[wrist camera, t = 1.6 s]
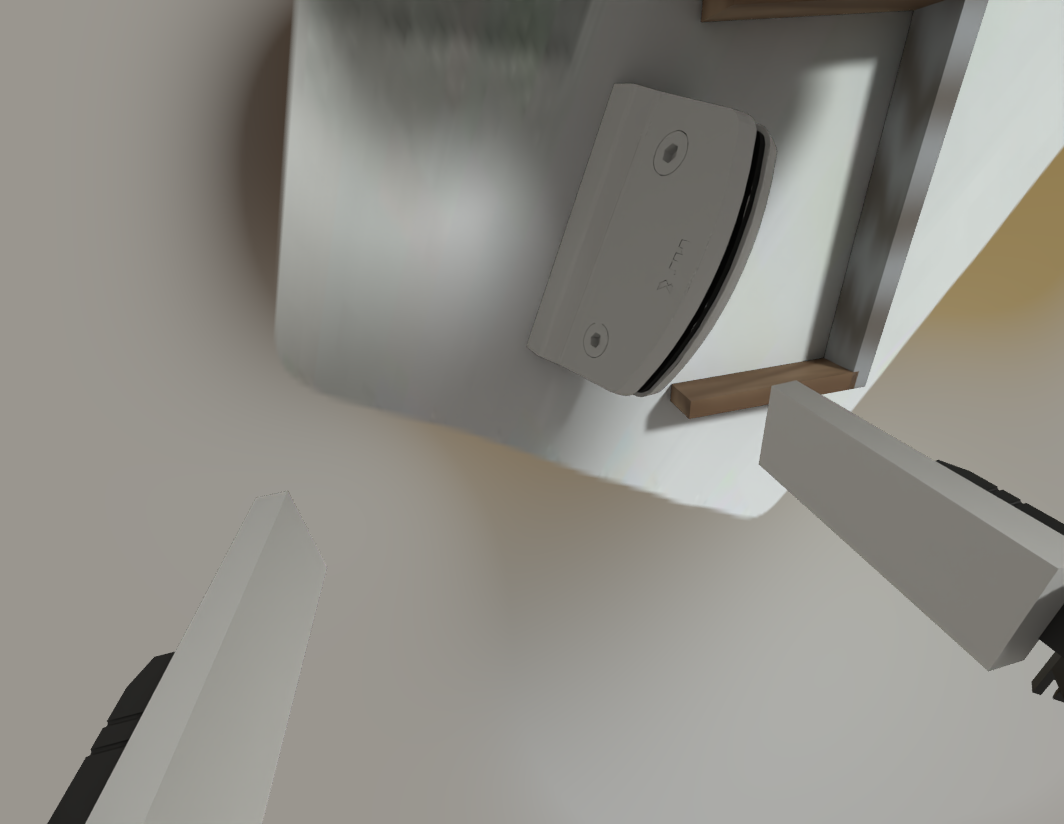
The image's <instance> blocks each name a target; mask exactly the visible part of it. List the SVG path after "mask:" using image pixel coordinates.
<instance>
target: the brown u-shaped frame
mask: <svg viewBox="0 0 1064 824" xmlns="http://www.w3.org/2000/svg"><path fill="white" fill-rule="evenodd" d="M987 3H988V0H703V3H702V15H701V22H711V21H730V20H748V19H766V18H784V17H802V16H820V15H838V14H856V13H874V12H892V11H910V10H914V13H913V17H912V21H911V24H910V28H909V32H908V36H907V40H906V44H905V47H904V51H903V55H902V59H901V63H900V67H899V71H898V74H897V78H896V82H895V86H894V90H893V94H892V97H891V101H890V105H889V109H888V113H887V117H886V121H885V124H884V128H883V132H882V136H881V140H880V144H879V148H878V151H877V155H876V159H875V163H874V167H873V171H872V174H871V178H870V182H869V186H868V190H867V194H866V198H865V201H864V205H863V209H862V213H861V217H860V221H859V225H858V228H857V232H856V236H855V240H854V244H853V248H852V251H851V255H850V259H849V263H848V267H847V271H846V275H845V278H844V282H843V286H842V290H841V294H840V298H839V302H838V305H837V309H836V313H835V317H834V321H833V325H832V328H831V332H830V336H829V340H828V344H827V348H826V352H825V355H824V358H821V359H815V360H809V361H803V362H798V363H792V364H786V365H780V366H774V367H769V368H763V369H757V370H751V371H745V372H740V373H734V374H728V375H722V376H716V377H710V378H705V379H699V380H693V381H687V382H681V383H676V384H672V387H671V399H670V401H671V402H672V403H673V404H674V405H675V406H676V407H677V408H678V409H679V410H680V411H681V412H682V413H684V414H685V415H686V416H687V417H688V418H689V419H691V418H697V417H702V416H708V415H713V414H718V413H724V412H729V411H735V410H740V409H746V408H751V407H756V406H762V405H767V404H769V399H770V393H771V387H772V386H773V385H777V384H782V383H787V382H791V381H796V380H797V381H798V382H800V383H802V384H804V385H805V386H807V387H809V388H810V389H812V390H814V391H816V392H817V393H819V394H827V393H832V392H838V391H843V390H849V389H854V388H859V387H865V385H866V382H867V379H868V375H869V372H870V369H871V366H872V363H873V360H874V357H875V354H876V350H877V347H878V344H879V341H880V338H881V335H882V332H883V329H884V325H885V322H886V319H887V316H888V313H889V310H890V307H891V304H892V300H893V297H894V294H895V291H896V288H897V285H898V282H899V279H900V275H901V272H902V269H903V266H904V263H905V260H906V257H907V253H908V250H909V247H910V244H911V241H912V238H913V235H914V232H915V228H916V225H917V222H918V219H919V216H920V213H921V210H922V207H923V203H924V200H925V197H926V194H927V191H928V188H929V185H930V182H931V178H932V175H933V172H934V169H935V166H936V163H937V160H938V157H939V153H940V150H941V147H942V144H943V141H944V138H945V135H946V132H947V128H948V125H949V122H950V119H951V116H952V113H953V110H954V107H955V103H956V100H957V97H958V94H959V91H960V88H961V85H962V81H963V78H964V75H965V72H966V69H967V66H968V63H969V60H970V56H971V53H972V50H973V47H974V44H975V41H976V38H977V35H978V31H979V28H980V25H981V22H982V19H983V16H984V13H985V10H986V6H987Z"/></svg>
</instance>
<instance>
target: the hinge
mask: <svg viewBox="0 0 1064 824" xmlns="http://www.w3.org/2000/svg"><path fill="white" fill-rule="evenodd" d="M776 155H777V149H776V145H775V143H774V141H773V139H772V137H771V135H770V133H769V131H768V130H767V129H766V128H765V127H764V126H762V125H760V124H756V123H755V121H754V119H753V118H752V117H751V116H750V115H749V114H746V113H743V112H741V111H738V110H735V109H732V108H728V107H724V106H720V105H715V104H711V103H707V102H703V101H699V100H695V99H691V98H686V97H682V96H678V95H674V94H670V93H666V92H662V91H658V90H654V89H651V88H647V87H644V86H640V85H637V84H633V83H621V84H614V86H613V89H612V92H611V95H610V98H609V101H608V104H607V107H606V110H605V113H604V116H603V119H602V122H601V125H600V128H599V131H598V134H597V137H596V140H595V143H594V146H593V149H592V152H591V155H590V158H589V161H588V164H587V167H586V170H585V173H584V176H583V179H582V182H581V184H580V187H579V190H578V193H577V196H576V199H575V202H574V205H573V208H572V211H571V214H570V217H569V220H568V223H567V226H566V229H565V232H564V235H563V238H562V241H561V244H560V247H559V250H558V253H557V256H556V259H555V262H554V265H553V268H552V271H551V274H550V277H549V280H548V283H547V286H546V289H545V292H544V295H543V298H542V301H541V304H540V307H539V310H538V313H537V316H536V319H535V322H534V325H533V328H532V331H531V334H530V337H529V340H528V343H527V347H528V348H529V349H530V350H532V351H533V352H534V353H535V354H536V355H538V356H540V357H542V358H545V359H547V360H549V361H552V362H554V363H556V364H559V365H561V366H563V367H565V368H566V369H568V370H570V371H572V372H574V373H576V374H578V375H580V376H582V377H584V378H585V379H587V380H589V381H591V382H593V383H595V384H597V385H599V386H601V387H603V388H604V389H606V390H608V391H610V392H613V393H616V394H619V395H623V396H630V395H632V394H633V395H635V396H638V397H644V396H648V395H652V394H656V393H658V392H660V391H662V390H663V389H664V388H665V387H666V386H667V385H668V384H669V383H670V382H671V381H672V380H673V379H674V377H675V376H676V375H677V374H678V373H679V372H680V371H681V369H682V368H683V367H684V366H685V365H686V364H687V363H688V361H689V360H690V359H691V357H692V356H693V355H694V354H695V352H696V351H697V350H698V348H699V347H700V346H701V344H702V343H703V341H704V340H705V338H706V337H707V335H708V334H709V332H710V331H711V330H712V328H713V326H714V325H715V323H716V321H717V320H718V318H719V316H720V315H721V313H722V311H723V310H724V308H725V306H726V304H727V302H728V301H729V299H730V297H731V295H732V293H733V291H734V289H735V287H736V285H737V283H738V281H739V278H740V276H741V274H742V272H743V270H744V267H745V265H746V263H747V260H748V258H749V255H750V253H751V250H752V248H753V245H754V242H755V239H756V236H757V234H758V231H759V228H760V225H761V221H762V218H763V215H764V211H765V208H766V204H767V200H768V196H769V192H770V187H771V183H772V179H773V173H774V167H775V161H776Z"/></svg>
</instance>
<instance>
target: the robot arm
mask: <svg viewBox="0 0 1064 824" xmlns="http://www.w3.org/2000/svg"><path fill="white" fill-rule="evenodd" d="M759 465H760V466H761V467H762V468H764V469H765V470H766V471H767V472H768V473H769V474H770V475H771V476H772V477H773V478H775V479H776V480H777V481H778V482H779V483H780V484H781V485H782V486H783V487H785V488H786V489H787V490H788V491H789V492H790V493H791V494H792V495H793V496H795V497H796V498H797V499H798V500H799V501H800V502H801V503H802V504H803V505H805V506H806V507H807V508H808V509H809V510H810V511H811V512H812V513H814V514H815V515H816V516H817V517H818V518H819V519H820V520H821V521H822V522H824V523H825V524H826V525H827V526H828V527H829V528H830V529H831V530H832V531H833V532H835V533H836V534H837V535H838V536H839V537H840V538H841V539H842V540H843V541H845V542H846V543H847V544H848V545H849V546H850V547H851V548H852V549H853V550H854V551H856V552H857V553H858V554H859V555H860V556H862V558H863V559H864V560H866V561H867V562H868V563H869V564H870V565H871V566H872V567H874V569H876V570H877V571H878V572H879V573H880V574H881V575H882V576H883V577H884V578H886V579H887V580H888V581H889V582H890V583H891V584H892V585H893V586H895V587H896V588H897V589H898V590H899V591H900V592H901V593H902V594H903V595H904V596H906V597H907V598H908V599H909V600H910V601H911V602H912V603H913V604H914V605H916V606H917V607H918V608H919V609H920V610H921V611H922V612H923V613H924V614H926V615H927V616H928V617H929V618H930V619H931V620H932V621H933V622H934V623H935V624H937V625H938V626H939V627H940V628H941V629H942V630H943V631H944V632H946V633H947V634H948V635H949V636H950V637H951V638H952V639H953V640H954V641H955V642H957V643H958V644H959V645H960V646H961V647H962V648H963V649H964V650H966V651H967V652H968V653H969V654H970V655H971V656H972V657H973V658H974V659H975V660H977V661H978V662H979V663H980V664H981V665H982V666H983V667H984V668H985V669H987V670H988V671H991V670H994V669H997V668H1000V667H1003V666H1006V665H1010V664H1013V663H1016V662H1019V661H1022V660H1024V659H1025V658H1026V656H1027V655H1028V654H1029V652H1030V651H1031V650H1032V648H1033V647H1034V646H1035V644H1036V643H1037V642H1038V640H1039V639H1040V640H1041V641H1042V642H1044V643H1045V644H1046V645H1047V646H1049V647H1050V648H1051V649H1052V650H1054V651H1055V653H1054V654H1053V655H1052V657H1051V658H1050V659H1049V660H1048V662H1047V663H1046V664H1045V666H1044V667H1043V668H1042V669H1041V671H1040V672H1039V673H1038V674H1037V676H1036V677H1035V678H1034V679H1033V681H1032V692H1033V693H1036V694H1039V695H1041V694H1042V693H1043V692H1044V691H1045V689H1046V688H1047V687H1048V686H1049V685H1050V683H1051V682H1052V681H1053V680H1056V682H1057V684H1058V687H1059V688H1058V689H1057V690H1056V692H1055V694H1054V695H1053V698H1054V699H1055V700H1058V701H1062V702H1064V524H1063V523H1061V522H1059V521H1058V520H1056V519H1054V518H1052V517H1050V516H1048V515H1047V514H1045V513H1043V512H1042V511H1040V510H1038V509H1036V508H1034V507H1033V506H1031V505H1029V504H1027V503H1025V504H1023V503H1021V501H1020V499H1018V498H1017V497H1015V496H1013V495H1011V494H1010V493H1008V492H1006V491H1004V490H998V488H997V486H995V485H993V484H992V483H990V482H988V481H986V480H985V479H983V478H981V477H979V476H978V475H976V474H974V473H972V472H970V471H968V470H965V469H962V468H959V467H956V466H954V465H951V464H948V463H946V462H943V461H940V460H937V461H934V460H933V459H931V458H929V457H928V456H926V455H924V454H922V453H921V452H919V451H917V450H915V449H913V448H912V447H910V446H909V445H907V444H905V443H903V442H901V441H900V440H898V439H897V438H895V437H893V436H891V435H889V434H888V433H886V432H884V431H883V430H881V429H879V428H878V427H876V426H874V425H872V424H870V423H869V422H867V421H865V420H864V419H862V418H860V417H859V416H857V415H855V414H853V413H852V412H850V411H848V410H847V409H845V408H843V407H841V406H840V405H838V404H836V403H835V402H833V401H831V400H829V399H828V398H826V397H824V396H822V395H821V394H819V393H817V392H816V391H814V390H812V389H810V388H809V387H807V386H805V385H804V384H802V383H800V382H798V381H797V380H796V381H791V382H787V383H782V384H777V385H773V386H772V387H771V393H770V399H769V405H768V411H767V417H766V423H765V429H764V435H763V442H762V448H761V454H760V460H759ZM326 570H327V565H326V563H325V561H324V559H323V557H322V555H321V554H320V552H319V550H318V548H317V546H316V544H315V542H314V540H313V538H312V536H311V534H310V532H309V530H308V528H307V526H306V524H305V522H304V520H303V519H302V517H301V515H300V513H299V511H298V509H297V507H296V505H295V503H294V501H293V499H292V497H291V495H290V493H289V491H284V492H280V493H276V494H271V495H266V496H262V497H257V498H256V499H255V500H254V502H253V504H252V506H251V508H250V510H249V512H248V514H247V516H246V518H245V520H244V522H243V523H242V525H241V527H240V529H239V531H238V533H237V535H236V537H235V539H234V541H233V542H232V545H231V546H230V548H229V550H228V552H227V554H226V556H225V558H224V560H223V562H222V564H221V566H220V567H219V569H218V571H217V573H216V575H215V577H214V579H213V581H212V583H211V585H210V586H209V589H208V590H207V592H206V594H205V596H204V598H203V600H202V602H201V604H200V606H199V607H198V609H197V611H196V613H195V615H194V617H193V619H192V621H191V623H190V625H189V627H188V629H187V631H186V632H185V634H184V636H183V638H182V640H181V642H180V644H179V646H178V648H177V649H176V651H175V652H172V653H168V654H164V655H160V656H156V657H154V658H153V659H152V660H151V661H150V663H149V664H148V665H147V666H146V667H145V668H144V669H143V670H142V671H141V672H140V673H139V674H138V676H137V677H136V678H135V679H134V680H133V681H132V682H131V683H130V684H129V686H128V687H127V688H126V689H125V691H124V693H123V695H122V696H121V698H120V700H119V702H118V703H117V705H116V707H115V708H114V710H113V712H112V714H111V715H110V717H109V719H108V720H107V722H108V725H107V727H105V728H103V729H102V731H101V732H100V734H99V736H98V738H97V739H96V741H95V743H94V745H93V746H92V748H91V755H90V756H88V757H86V758H85V760H84V762H83V763H82V765H81V767H80V769H79V770H78V772H77V774H76V776H75V777H74V779H73V781H72V782H71V784H70V786H69V787H68V789H67V791H66V793H65V795H64V796H63V798H62V800H61V801H60V803H59V805H58V807H57V808H56V810H55V812H54V814H53V815H52V817H51V819H50V820H49V822H48V824H262V822H263V818H264V814H265V810H266V806H267V802H268V798H269V794H270V790H271V786H272V783H273V779H274V775H275V771H276V767H277V763H278V759H279V755H280V751H281V747H282V743H283V739H284V736H285V732H286V728H287V724H288V720H289V716H290V712H291V708H292V704H293V700H294V696H295V692H296V688H297V684H298V680H299V677H300V673H301V669H302V665H303V661H304V657H305V653H306V649H307V645H308V641H309V637H310V633H311V629H312V625H313V621H314V617H315V613H316V610H317V605H318V602H319V598H320V594H321V590H322V586H323V582H324V578H325V574H326Z"/></svg>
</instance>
